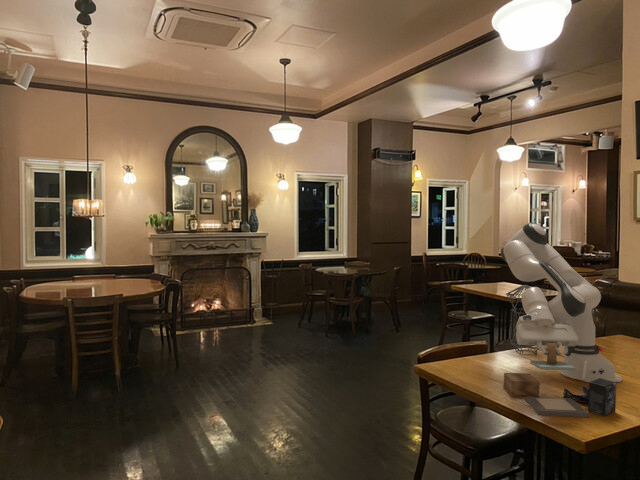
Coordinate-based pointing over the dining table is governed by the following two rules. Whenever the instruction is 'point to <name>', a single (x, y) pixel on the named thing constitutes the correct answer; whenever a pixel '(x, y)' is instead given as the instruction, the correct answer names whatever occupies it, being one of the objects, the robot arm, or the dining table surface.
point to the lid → (552, 361)
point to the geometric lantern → (516, 318)
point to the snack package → (578, 397)
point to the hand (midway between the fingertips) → (552, 354)
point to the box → (602, 397)
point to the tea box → (521, 385)
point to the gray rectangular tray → (556, 406)
